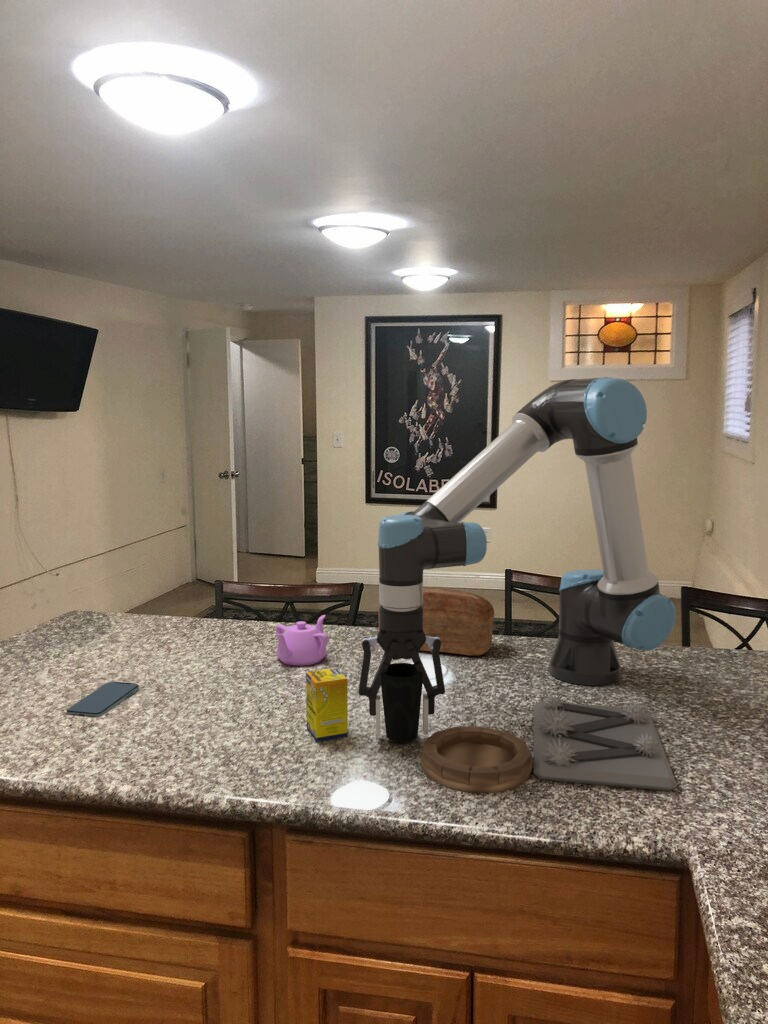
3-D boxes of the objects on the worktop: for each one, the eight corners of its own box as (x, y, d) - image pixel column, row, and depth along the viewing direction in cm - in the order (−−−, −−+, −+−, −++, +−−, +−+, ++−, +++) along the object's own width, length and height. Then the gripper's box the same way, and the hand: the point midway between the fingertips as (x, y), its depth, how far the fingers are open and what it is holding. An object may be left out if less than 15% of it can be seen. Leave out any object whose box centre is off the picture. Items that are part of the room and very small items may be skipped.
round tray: (519, 741, 136) (520, 725, 135) (543, 792, 118) (543, 773, 117) (417, 742, 135) (417, 725, 135) (425, 793, 117) (425, 774, 117)
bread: (489, 661, 178) (490, 600, 176) (373, 650, 186) (373, 592, 184) (496, 646, 190) (498, 588, 188) (387, 636, 198) (387, 581, 196)
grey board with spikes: (677, 797, 117) (680, 753, 116) (533, 784, 121) (534, 741, 120) (649, 719, 147) (651, 683, 146) (533, 710, 151) (534, 675, 150)
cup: (420, 746, 132) (419, 679, 130) (376, 743, 133) (375, 676, 132) (426, 728, 139) (426, 664, 137) (385, 725, 141) (384, 661, 139)
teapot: (325, 649, 187) (325, 613, 186) (329, 668, 173) (329, 630, 172) (275, 651, 185) (275, 615, 184) (275, 670, 171) (275, 632, 170)
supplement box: (305, 729, 140) (305, 671, 139) (337, 724, 143) (336, 667, 141) (316, 742, 135) (315, 682, 133) (348, 737, 137) (348, 677, 136)
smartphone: (63, 710, 147) (108, 680, 161) (64, 718, 147) (108, 688, 162) (99, 713, 145) (141, 683, 160) (99, 722, 146) (141, 691, 160)
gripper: (458, 599, 137) (457, 721, 140) (342, 600, 136) (344, 724, 140) (463, 610, 129) (462, 739, 133) (340, 612, 129) (343, 742, 132)
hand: (401, 731), depth 136 cm, fingers closed on cup, 8 cm apart
